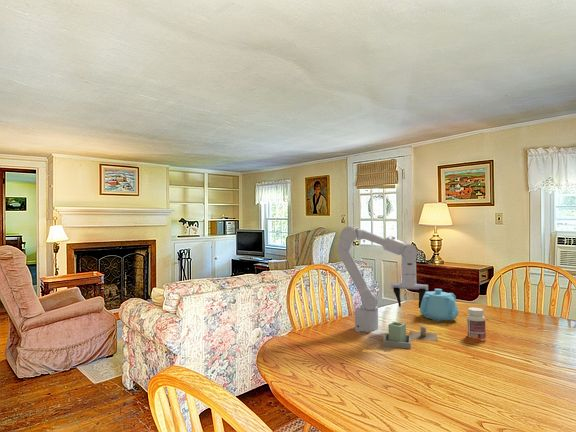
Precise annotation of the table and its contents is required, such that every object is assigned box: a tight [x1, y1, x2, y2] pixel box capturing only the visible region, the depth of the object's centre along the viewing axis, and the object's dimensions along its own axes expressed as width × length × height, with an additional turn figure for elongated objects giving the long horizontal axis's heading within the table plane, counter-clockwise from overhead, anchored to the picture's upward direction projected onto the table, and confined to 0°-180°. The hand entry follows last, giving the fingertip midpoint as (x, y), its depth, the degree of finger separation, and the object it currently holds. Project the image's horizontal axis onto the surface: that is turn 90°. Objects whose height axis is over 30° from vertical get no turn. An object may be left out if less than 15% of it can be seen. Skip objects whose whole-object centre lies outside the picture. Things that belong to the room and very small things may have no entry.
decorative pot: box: [419, 288, 459, 323], centre depth 167 cm, size 16×16×14 cm
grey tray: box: [382, 332, 412, 350], centre depth 133 cm, size 9×9×2 cm
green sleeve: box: [387, 321, 407, 343], centre depth 133 cm, size 5×5×7 cm
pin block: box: [409, 325, 439, 343], centre depth 140 cm, size 10×10×4 cm
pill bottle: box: [466, 307, 487, 342], centre depth 138 cm, size 6×6×11 cm
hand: (409, 306), depth 149 cm, fingers open, 7 cm apart
